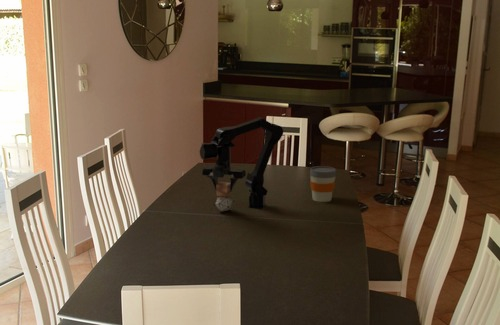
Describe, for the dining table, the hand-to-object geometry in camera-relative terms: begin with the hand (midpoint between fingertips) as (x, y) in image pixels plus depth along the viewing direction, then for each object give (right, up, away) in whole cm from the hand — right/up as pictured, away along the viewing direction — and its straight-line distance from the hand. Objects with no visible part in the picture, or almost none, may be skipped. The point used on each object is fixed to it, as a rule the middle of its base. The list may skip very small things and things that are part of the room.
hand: (223, 191), depth 246 cm
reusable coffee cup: (+46, -5, +21) cm, 51 cm away
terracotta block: (0, -2, 0) cm, 2 cm away
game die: (0, -9, +2) cm, 10 cm away
